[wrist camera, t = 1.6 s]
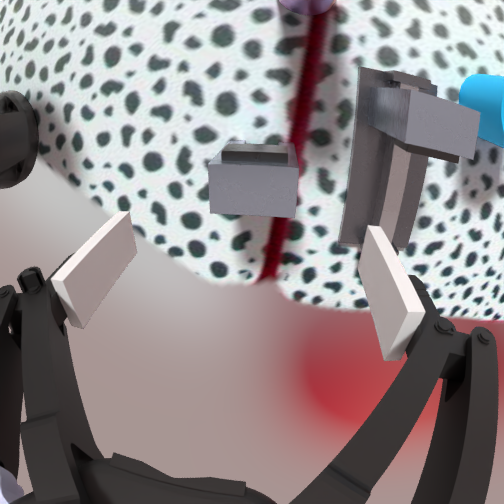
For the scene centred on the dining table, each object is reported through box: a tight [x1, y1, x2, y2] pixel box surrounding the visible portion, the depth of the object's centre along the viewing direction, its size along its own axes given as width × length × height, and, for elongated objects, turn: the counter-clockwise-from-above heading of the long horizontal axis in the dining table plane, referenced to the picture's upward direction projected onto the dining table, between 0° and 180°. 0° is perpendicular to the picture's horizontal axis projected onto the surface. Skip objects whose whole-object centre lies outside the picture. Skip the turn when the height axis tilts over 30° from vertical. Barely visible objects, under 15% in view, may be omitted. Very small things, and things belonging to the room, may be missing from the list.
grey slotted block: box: [338, 67, 481, 256], centre depth 24 cm, size 9×20×11 cm, turn 179°
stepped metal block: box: [208, 140, 299, 218], centre depth 25 cm, size 7×5×10 cm
